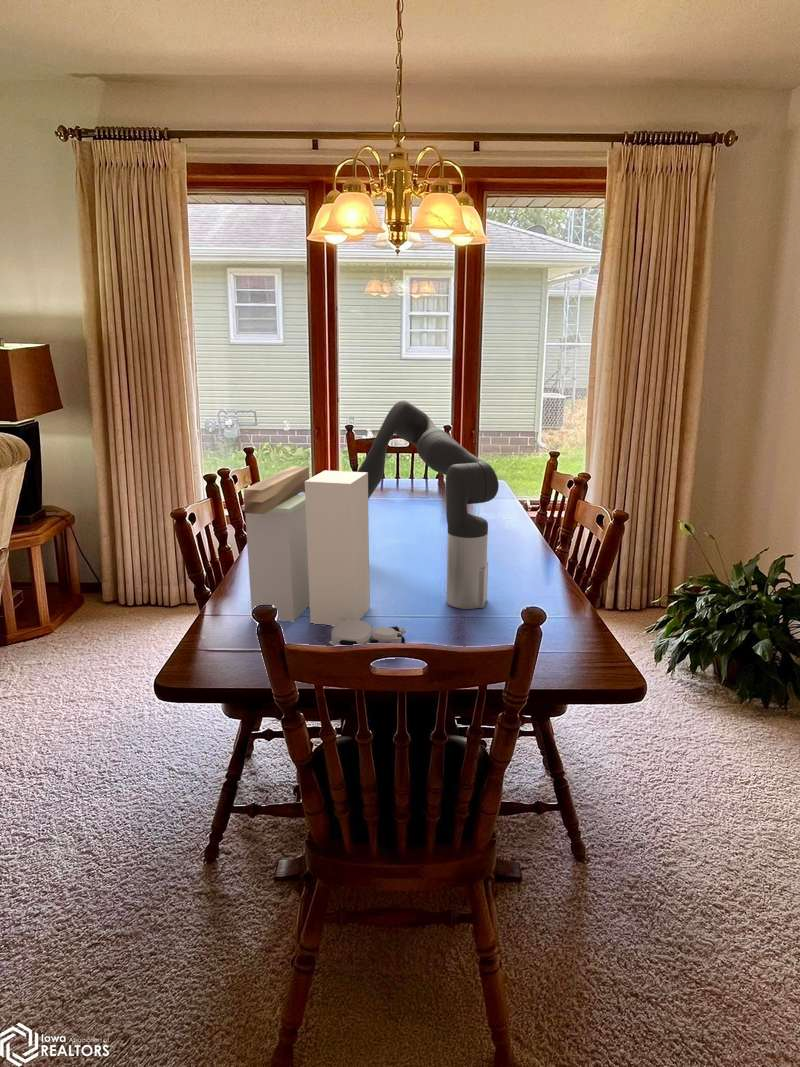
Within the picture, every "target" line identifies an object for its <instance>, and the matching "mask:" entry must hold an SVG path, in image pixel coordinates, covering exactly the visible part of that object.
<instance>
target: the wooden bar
mask: <svg viewBox="0 0 800 1067" xmlns="http://www.w3.org/2000/svg"><path fill="white" fill-rule="evenodd" d="M308 479H310V467H309V466H303V465H300V466H299V465H291V466H289V467H288V468H286V469H283V470H281V471H279V472H277V473H275V474H273V475H271V476H269V477H266V478H265V479H262V480H260V481H258V482H256V483H253V484H252V485H250V486H248V487H246V488H243V490H242V491H243V505H244V506H245V511H244V514H245V513H251V514H264V513H266V512H268V511H269V510H271V509H273V508H275V507H276V506H278V505H280V504H282V503H283V502H285V501H287V500H289V499H290V498H292V497H294V496H296V495H297V494H299V495H300V494H302V493H301V492H302V491H304V490H305V481H306V480H308Z"/></svg>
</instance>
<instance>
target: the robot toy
mask: <svg viewBox="0 0 800 1067" xmlns="http://www.w3.org/2000/svg"><path fill="white" fill-rule="evenodd" d="M340 619H341V620H343V621H340V622H339V623H338V624H336V625H335V626H332V627H333V628H332V629H331V637H330V638H331V640H330V641H328V642H329V644H330V645H331V646H332V645H353V644H367V643H404V644H405V643H406V638H405V636H403V635H404V634H406V632H407V630H406V629H405V628H404V627H398V626H388V627H387V626H386V627H385V626H376V627H375V628H373V626H372V625H371V624H370V623H368V622H367V621H365V620H350V619H344V618H342V617H340Z"/></svg>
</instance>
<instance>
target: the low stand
mask: <svg viewBox="0 0 800 1067" xmlns="http://www.w3.org/2000/svg"><path fill="white" fill-rule="evenodd" d="M241 511H244V514H245V515H244V516H245V529H246V530H245V532H246V533H245V534H246V545H247V546H246V547H247V548H246V549H247V559H248V562H247V563H248V577H249V587H250V588H249V590H250V608H251V611H252V610H253V608H254V607H255V606H258V605H261V604H271V605H274V606H275V607H276V608H277V610H278V618H277V620H276V621H278V622H279V619H280V622H282V621H281V620H284V621H283V622H287V621H294V622H296V620H298V618H300V617H301V616H302V614H303V613H304V612H305V611H306V610H307V609H308V608H309V607H310V606H309V605H310V600H309V576H308V551H307V527H306V503H305V494H300V493H299V494H297V495H296V496H294V497H292V498H290V499H289V500H287V501H285V502H283V503H282V504H280V505H278V506H276V507H275V508H273V509H271V510H269V511H268V512H266V513H264V514H251V513H245V506H244V504H243V505H241ZM308 606H309V607H308ZM307 607H308V608H307ZM306 608H307V609H306ZM305 609H306V610H305ZM304 610H305V611H304ZM303 611H304V612H303ZM302 612H303V613H302ZM301 613H302V614H301ZM297 617H298V618H297ZM295 619H296V620H295Z"/></svg>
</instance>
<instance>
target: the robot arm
mask: <svg viewBox="0 0 800 1067" xmlns="http://www.w3.org/2000/svg"><path fill="white" fill-rule="evenodd" d="M394 435H396V436H397V437H399V438H401V439H402V440H404V441H405V442H408V443H409V444H411V445H413V446H415V447H416V449H417V450H416V451H417V454H418V456H419V457H420V459H421V460H422V461H423V462H424V464H426V465H427V467H429V469H431V470H432V471H434V472H436V473H439V474H442V475H444V476H445V505H446V508H445V510H446V512H445V513H446V514H445V515H446V523H447V524H446V525H447V547H446V548H447V552H446V553H447V554H446V592H445V594H446V600H445V601H446V604H447V605H449V606H451V607H453V608H456V609H459V610H460V609H461V610H474V609H484V608H485V605H486V603H487V600H488V577H489V562H488V539H489V538H488V536H489V534H488V533H489V522H488V521H487V519H485V518H484V517H481V516H477V515H474V514H470V513H468V507H467V505H475V504H483V503H488V502H490V501H492V500H493V499H494V498H496V496H497V494H498V493H499V478H498V476H497V474H496V471H495V470H494V469H493V467H492V466H491V465H490V464H489V463H488V462H486V461H485V460H483V459H481V458H479V457H477V456H476V455H474V454H473V453H471V452H470V451H469V450H467V449H466V448H465V447H464V446H463V445H461V444H459V442H458V441H456V440H455V439H454V438H453V437H452V436H451V434H449V433H447V432H446V431H445V430H443V429H441V428H438V427H437V426H436V424H435V423H434V422H433V421H432V419H431V418H430V417H429V415H428V414H426V413H425V412H424V411H423V410H421V409H419V408H418V407H416V406H415V405H413V404H412V403H410V402H409V401H407V400H402V399H401V400H399V401H398V402H396V403H395V404H394V405H393V406H392V407H391V409H390V410H389V411H388V413H387V414H386V417H385V418H384V421H383V422H382V424H381V426H380V428H379V430H378V432H377V434H376V436H375V437H374V438H375V439H374V440H373V442H372V444H371V447H370V449H369V451H368V453H367V455H366V456H365V459H364V460H363V462H362V463H361V465H360V466H359V468H358V469H357V471H356V472H368V501H369V499H370V497H371V496H372V495H373V493H374V492H375V490H376V489H377V487H378V486H379V485H380V484H381V481H382V479H383V478H384V473H385V467H386V456H387V449H388V446H389V443H390V442H391V440H392V438H393V436H394ZM300 494H303V495H305V490H304V491H302V492H301V493H300Z"/></svg>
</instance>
